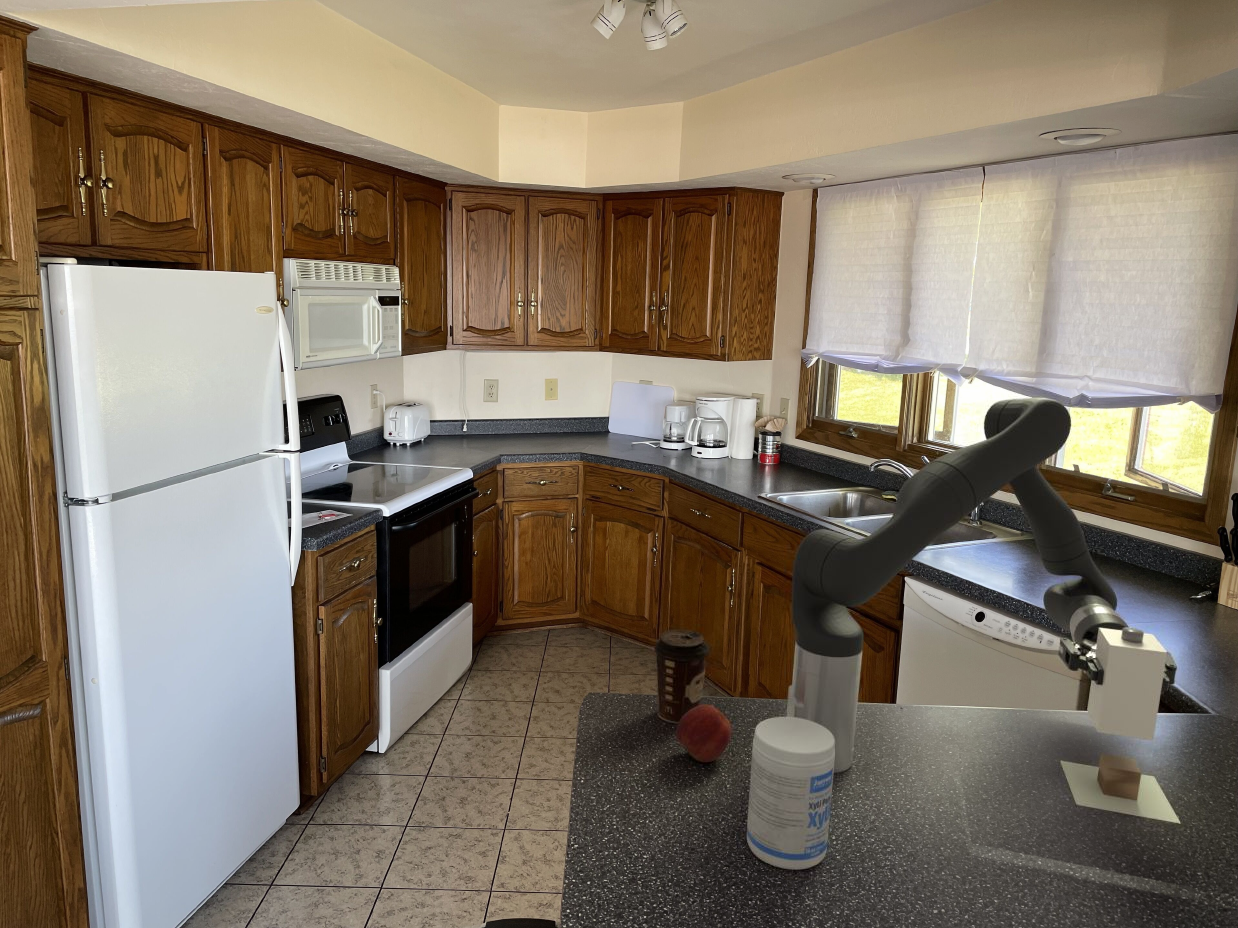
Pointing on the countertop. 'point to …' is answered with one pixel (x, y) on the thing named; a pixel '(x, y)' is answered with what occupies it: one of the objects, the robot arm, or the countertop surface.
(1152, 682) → the cover
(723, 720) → the apple
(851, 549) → the robot arm
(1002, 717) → the countertop surface
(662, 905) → the countertop surface
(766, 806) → the supplement tub
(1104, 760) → the block
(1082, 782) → the mat
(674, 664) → the coffee cup
